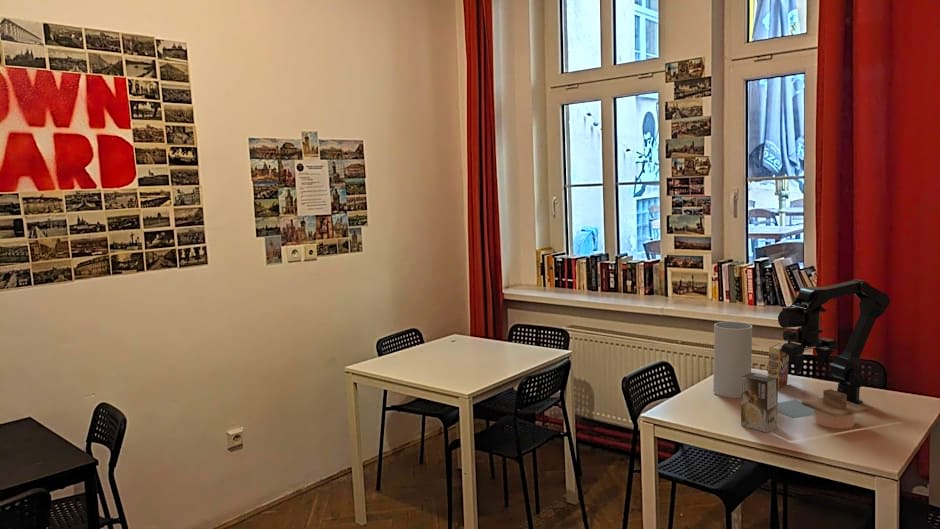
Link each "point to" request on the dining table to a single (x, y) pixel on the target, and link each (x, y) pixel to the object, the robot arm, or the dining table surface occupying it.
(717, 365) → the cylinder vase
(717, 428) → the dining table surface
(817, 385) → the dining table surface
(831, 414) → the walnut lid
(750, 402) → the coffee box
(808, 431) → the dining table surface
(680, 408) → the dining table surface
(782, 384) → the candy box
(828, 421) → the terracotta bowl
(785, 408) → the rubber mat
